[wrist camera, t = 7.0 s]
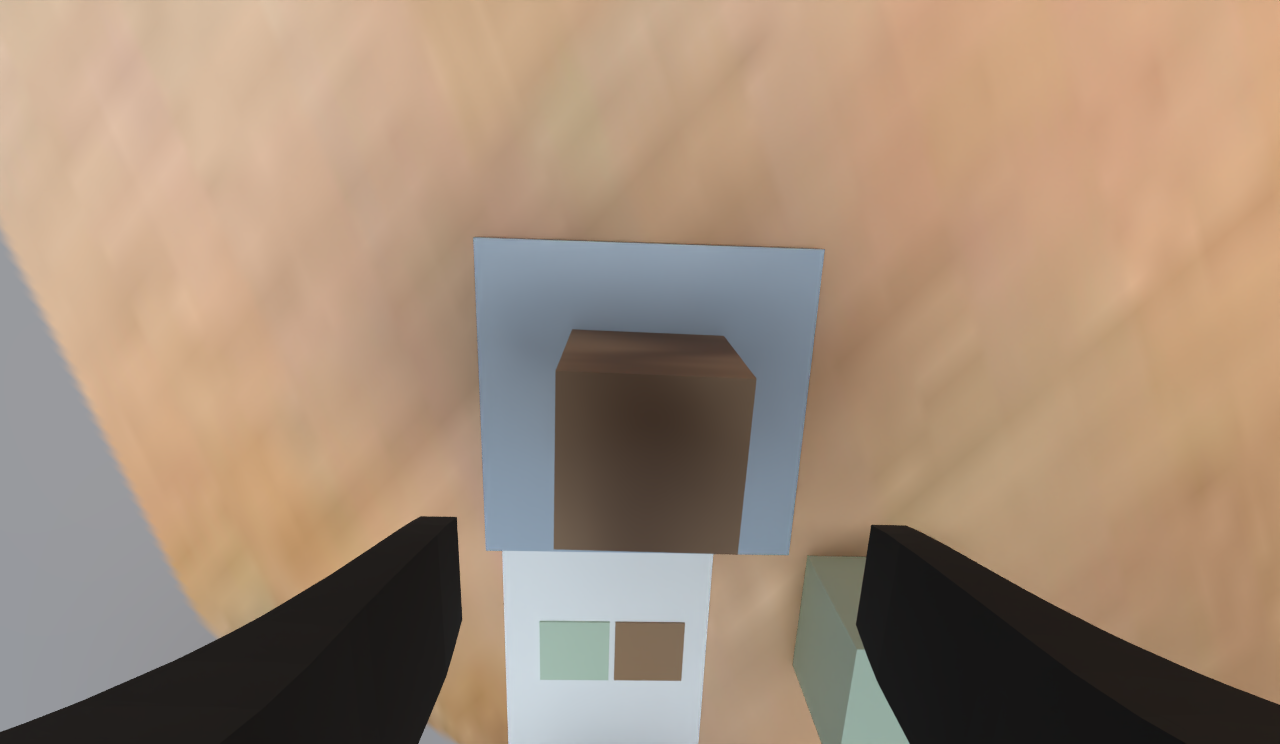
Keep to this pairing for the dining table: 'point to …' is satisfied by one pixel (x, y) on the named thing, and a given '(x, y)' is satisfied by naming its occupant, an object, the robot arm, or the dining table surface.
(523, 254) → the baseplate
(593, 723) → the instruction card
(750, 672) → the dining table surface
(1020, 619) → the robot arm
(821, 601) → the block sage
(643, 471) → the block walnut
